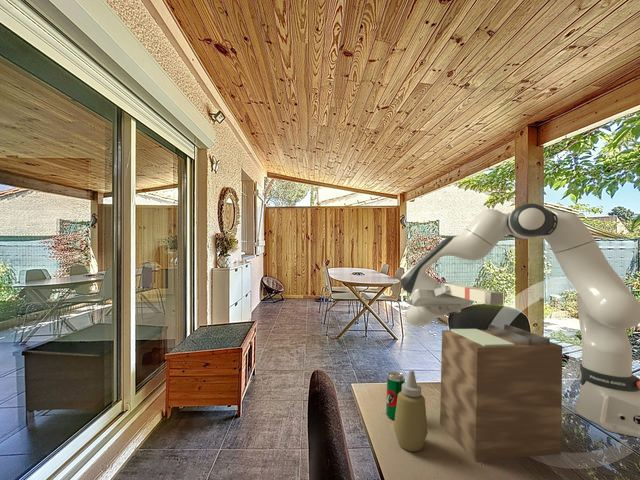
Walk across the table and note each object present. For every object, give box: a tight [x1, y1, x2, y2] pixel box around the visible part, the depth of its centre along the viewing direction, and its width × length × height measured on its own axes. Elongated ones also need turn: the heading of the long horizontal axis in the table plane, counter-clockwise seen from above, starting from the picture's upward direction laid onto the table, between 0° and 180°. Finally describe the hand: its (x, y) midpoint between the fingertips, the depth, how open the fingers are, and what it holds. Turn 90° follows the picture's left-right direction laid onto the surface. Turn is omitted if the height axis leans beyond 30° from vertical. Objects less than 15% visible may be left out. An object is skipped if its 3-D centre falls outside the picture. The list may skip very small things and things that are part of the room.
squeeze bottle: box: [393, 370, 428, 452], centre depth 76 cm, size 8×8×18 cm
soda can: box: [385, 371, 406, 420], centre depth 89 cm, size 5×5×12 cm
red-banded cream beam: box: [440, 282, 504, 306], centre depth 86 cm, size 22×4×3 cm, turn 9°
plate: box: [450, 328, 515, 346], centre depth 80 cm, size 14×8×1 cm, turn 9°
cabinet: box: [439, 323, 563, 462], centre depth 80 cm, size 15×23×28 cm, turn 99°
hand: (455, 288), depth 92 cm, fingers closed on red-banded cream beam, 3 cm apart
